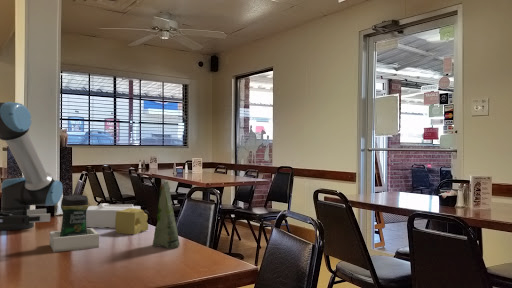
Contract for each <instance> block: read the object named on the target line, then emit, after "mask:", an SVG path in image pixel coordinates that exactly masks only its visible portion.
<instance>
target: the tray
mask: <svg viewBox="0 0 512 288" xmlns="http://www.w3.org/2000/svg"><path fill="white" fill-rule="evenodd" d="M60 234H61V230H56V231H50V232H49V246H50V247H51V250H52V252H53V253H59V252H60V253H61V252H68V251H78V250H87V249H95V248H96V249H97V248H100V233H99V232H97V231H96V230H95V228H87V235H77V236H66V237H60Z"/></svg>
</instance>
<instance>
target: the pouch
mask: <svg viewBox="0 0 512 288" xmlns="http://www.w3.org/2000/svg"><path fill="white" fill-rule="evenodd" d="M170 187H171V186H170V184H169V181H168V180H166V181H164V182H163V183H162V184H161V185H160V187H159V200H158V204H157V209H158V211H157V214H156V218H157V223H156V225H155V227H154V234H153V235H154V236H153V241H152V244H151V245H152V247H163V248H167V249H173V248H177V247H179V246H180V240H179V235H178V234H179V232H178V227H177V223H176V216H175V213H174V208H173V207H174V203H173V201H172V196H171V188H170Z"/></svg>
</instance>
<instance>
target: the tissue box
mask: <svg viewBox="0 0 512 288" xmlns="http://www.w3.org/2000/svg"><path fill="white" fill-rule="evenodd" d="M128 208H135V209H141V206H140V205H134V203H133V204H132V203H131V204H130V203H129V204H126V203H125V204H123V203H122V204H110V203H105V202H104V203H100V204H98V205H88V209H87V211H86V225H87V227H115V219H116V212H117V211H121V210H125V209H128Z"/></svg>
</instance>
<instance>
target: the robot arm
mask: <svg viewBox="0 0 512 288" xmlns="http://www.w3.org/2000/svg"><path fill="white" fill-rule="evenodd" d="M31 125H32V116H31V112H30V111H29V109H28V107H26V106H25V105H24V104H22V103H19V102H13V101H6V102H0V140H1V141H5V143H6V145H7V147H8V149H9V150H10V152H11V154H12V157H13V158H14V160H15V162H16V163H17V166H18V167H19V170H20V171H21V173H22V175H23V177H18V178H17V177H16V178H8V179H7V178H6V179H4V180H2V182H1V190H0V191H1V192H0V193H1V198H0V199H1V201H0V202H1V205H0V206H1V208H0V209H1V210H0V231H18V230H25V229H30V228H33V227H34V226H35V223H46V222H48V223H49V222H51V213H47V208H38V209H37V208H35V209H34V208H33V209H32V208H31V206H39V207H42V206H44V207H48V206H51V207H53V206H55V205H57V204H58V203H59V202H60V200H62V197H63V191H64V190H63V189H64V188H63V187H64V186H63V183H62V182H61V181H60V180H58V179H56V180H55V179H54V178H53V176H52V174H51V173H49V172H47V171H46V170H45V168H44V165H43V163H42V161H41V158H40V157H39V155H38V152H37V151H36V148H35V146H34V144H33V142H32V140H31V138H30V136H29V134H28V133H29V132H30V127H31Z"/></svg>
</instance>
